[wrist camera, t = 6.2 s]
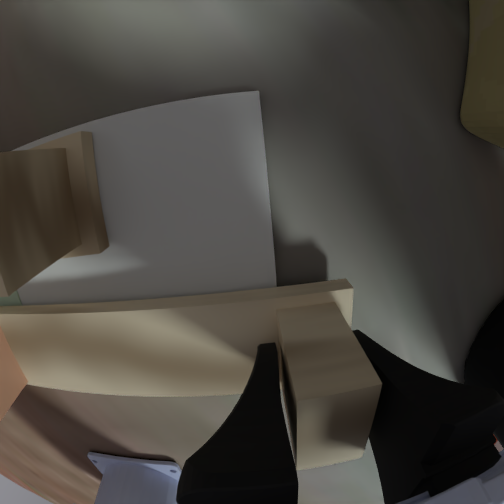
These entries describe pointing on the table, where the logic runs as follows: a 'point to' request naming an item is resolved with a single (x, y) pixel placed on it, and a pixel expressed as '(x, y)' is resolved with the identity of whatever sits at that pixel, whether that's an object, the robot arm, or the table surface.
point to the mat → (171, 206)
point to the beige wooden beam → (213, 355)
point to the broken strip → (48, 208)
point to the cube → (9, 376)
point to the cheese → (485, 72)
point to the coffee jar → (489, 360)
